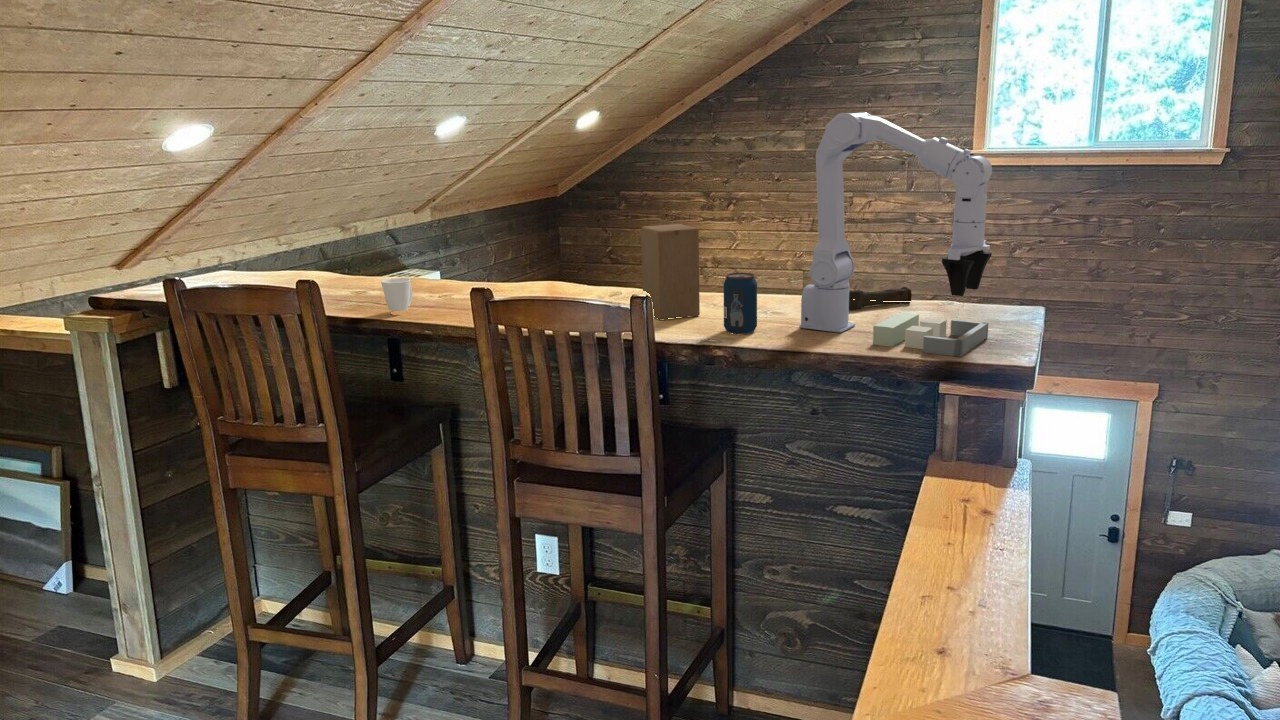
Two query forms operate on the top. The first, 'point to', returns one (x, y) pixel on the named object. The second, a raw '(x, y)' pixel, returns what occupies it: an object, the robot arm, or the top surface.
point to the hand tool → (878, 297)
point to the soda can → (740, 303)
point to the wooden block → (671, 269)
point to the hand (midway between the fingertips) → (964, 292)
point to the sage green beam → (894, 329)
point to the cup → (397, 293)
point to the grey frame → (969, 339)
